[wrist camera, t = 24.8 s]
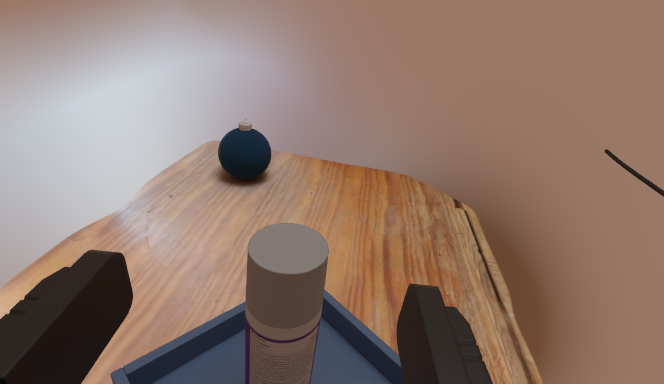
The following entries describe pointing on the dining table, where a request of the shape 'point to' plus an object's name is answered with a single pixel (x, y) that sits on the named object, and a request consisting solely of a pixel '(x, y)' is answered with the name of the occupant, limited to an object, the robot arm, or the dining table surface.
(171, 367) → the tray
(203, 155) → the dining table surface
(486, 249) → the dining table surface
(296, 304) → the container
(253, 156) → the christmas ornament
